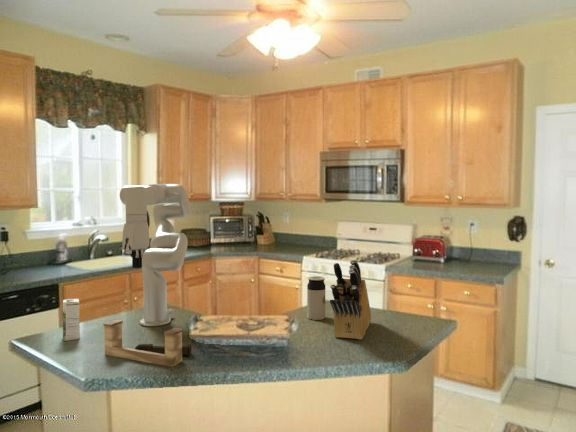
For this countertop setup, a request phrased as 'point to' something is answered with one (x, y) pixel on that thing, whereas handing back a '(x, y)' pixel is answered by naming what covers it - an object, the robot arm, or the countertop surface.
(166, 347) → the wooden u-shaped stand
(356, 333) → the knife block
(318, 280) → the travel mug
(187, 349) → the hand tool
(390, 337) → the countertop surface
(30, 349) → the countertop surface
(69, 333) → the syrup box
